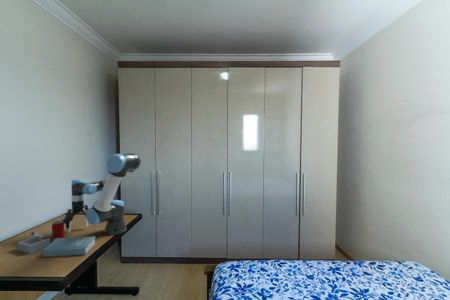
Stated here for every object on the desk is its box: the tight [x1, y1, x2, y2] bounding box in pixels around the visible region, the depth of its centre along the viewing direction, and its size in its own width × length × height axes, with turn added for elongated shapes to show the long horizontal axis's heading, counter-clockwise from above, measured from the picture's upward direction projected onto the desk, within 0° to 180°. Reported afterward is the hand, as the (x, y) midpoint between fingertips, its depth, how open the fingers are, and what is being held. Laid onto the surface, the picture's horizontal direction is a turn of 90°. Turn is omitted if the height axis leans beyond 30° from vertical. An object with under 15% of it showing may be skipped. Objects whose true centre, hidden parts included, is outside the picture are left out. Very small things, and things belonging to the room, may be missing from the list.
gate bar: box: [30, 231, 45, 242], centre depth 160 cm, size 12×2×4 cm, turn 68°
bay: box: [17, 236, 57, 255], centre depth 149 cm, size 14×15×5 cm
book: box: [42, 236, 96, 258], centre depth 146 cm, size 23×16×5 cm
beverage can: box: [51, 220, 65, 241], centre depth 161 cm, size 7×7×12 cm
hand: (77, 229), depth 174 cm, fingers open, 13 cm apart
